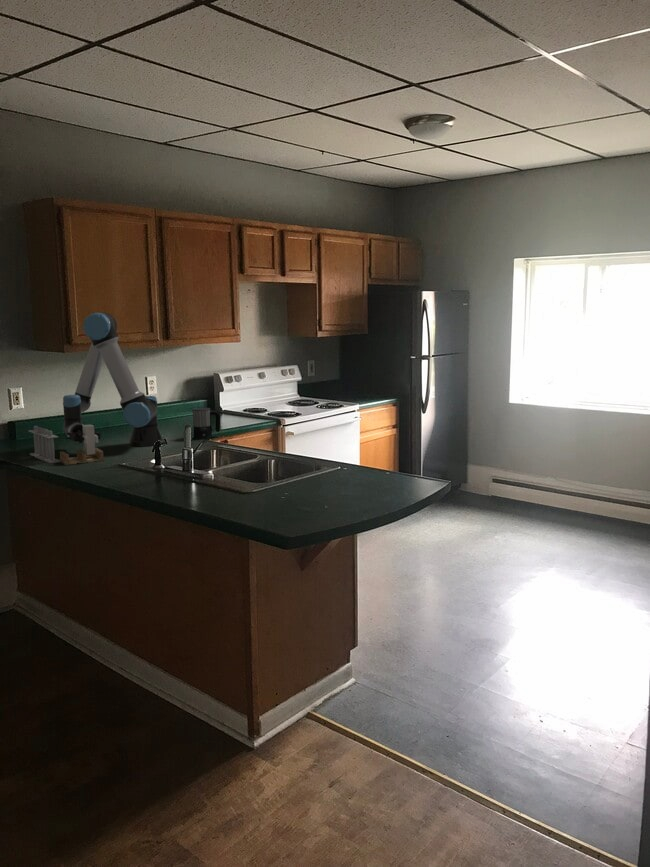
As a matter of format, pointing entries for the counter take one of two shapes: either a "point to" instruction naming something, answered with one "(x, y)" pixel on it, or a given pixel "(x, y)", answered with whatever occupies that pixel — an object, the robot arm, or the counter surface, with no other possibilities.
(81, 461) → the oak rack
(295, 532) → the counter surface
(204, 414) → the milk frother
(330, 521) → the counter surface
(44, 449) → the test tube rack
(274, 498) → the counter surface
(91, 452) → the grey upright block
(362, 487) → the counter surface
